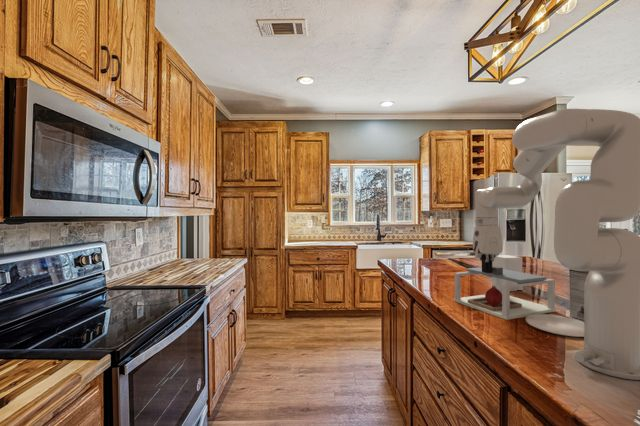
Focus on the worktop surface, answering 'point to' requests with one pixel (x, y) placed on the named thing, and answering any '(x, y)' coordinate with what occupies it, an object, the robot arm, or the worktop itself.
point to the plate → (557, 324)
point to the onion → (493, 296)
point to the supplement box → (508, 267)
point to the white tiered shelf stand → (507, 299)
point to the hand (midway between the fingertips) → (486, 272)
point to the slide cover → (508, 274)
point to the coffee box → (577, 293)
